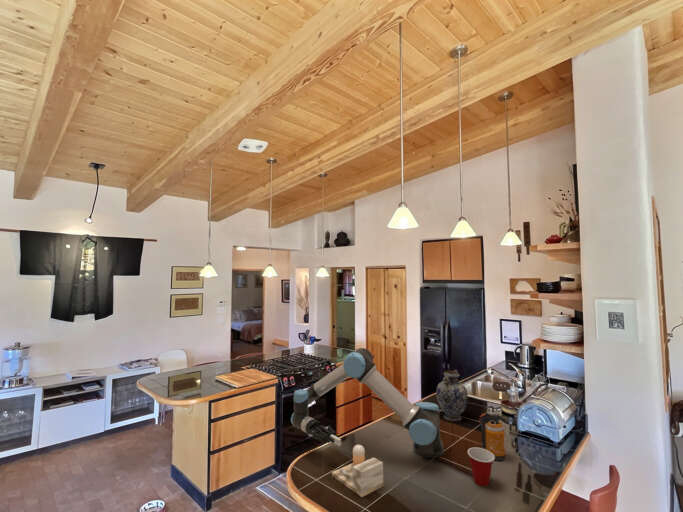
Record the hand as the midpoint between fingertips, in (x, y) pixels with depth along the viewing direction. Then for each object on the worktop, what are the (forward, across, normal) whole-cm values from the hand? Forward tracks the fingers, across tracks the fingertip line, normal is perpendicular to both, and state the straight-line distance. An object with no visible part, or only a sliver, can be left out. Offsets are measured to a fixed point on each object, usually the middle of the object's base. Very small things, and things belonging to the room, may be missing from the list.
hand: (339, 442), depth 161 cm
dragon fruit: (+20, -92, -13) cm, 96 cm away
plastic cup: (+46, -40, -13) cm, 62 cm away
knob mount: (+11, 0, -12) cm, 17 cm away
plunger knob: (+13, 0, -10) cm, 17 cm away
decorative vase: (-2, -89, -13) cm, 90 cm away
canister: (+38, -64, -13) cm, 75 cm away
